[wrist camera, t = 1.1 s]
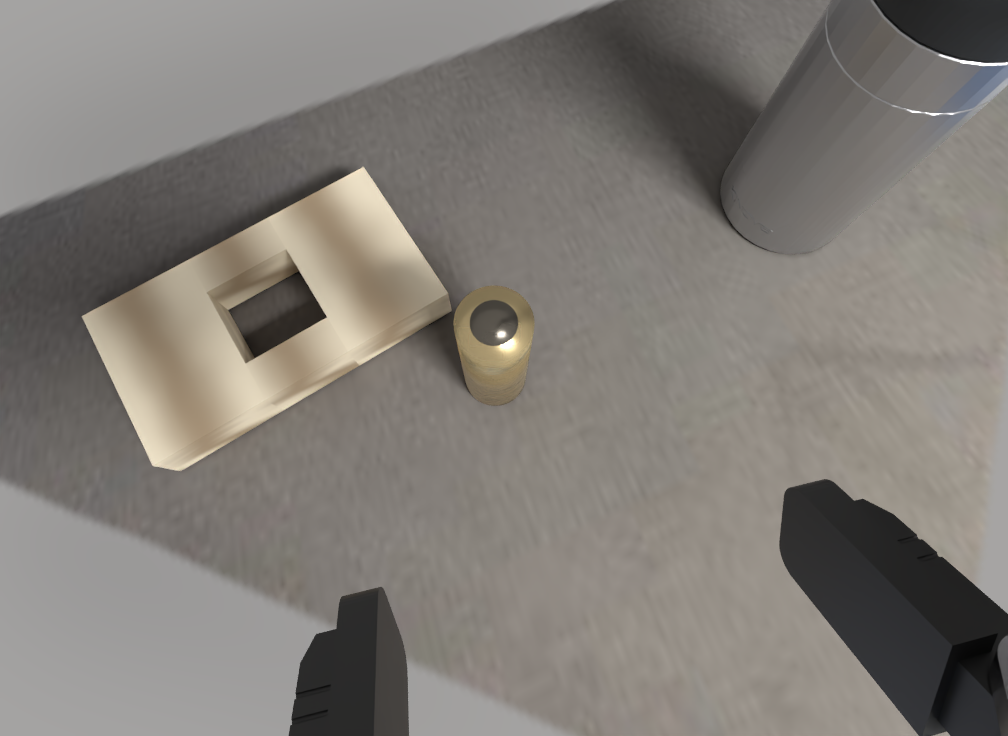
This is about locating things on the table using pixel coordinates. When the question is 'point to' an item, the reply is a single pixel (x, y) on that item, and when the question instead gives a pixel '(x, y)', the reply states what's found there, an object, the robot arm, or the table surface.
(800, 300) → the table surface
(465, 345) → the bushing
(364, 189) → the jig
